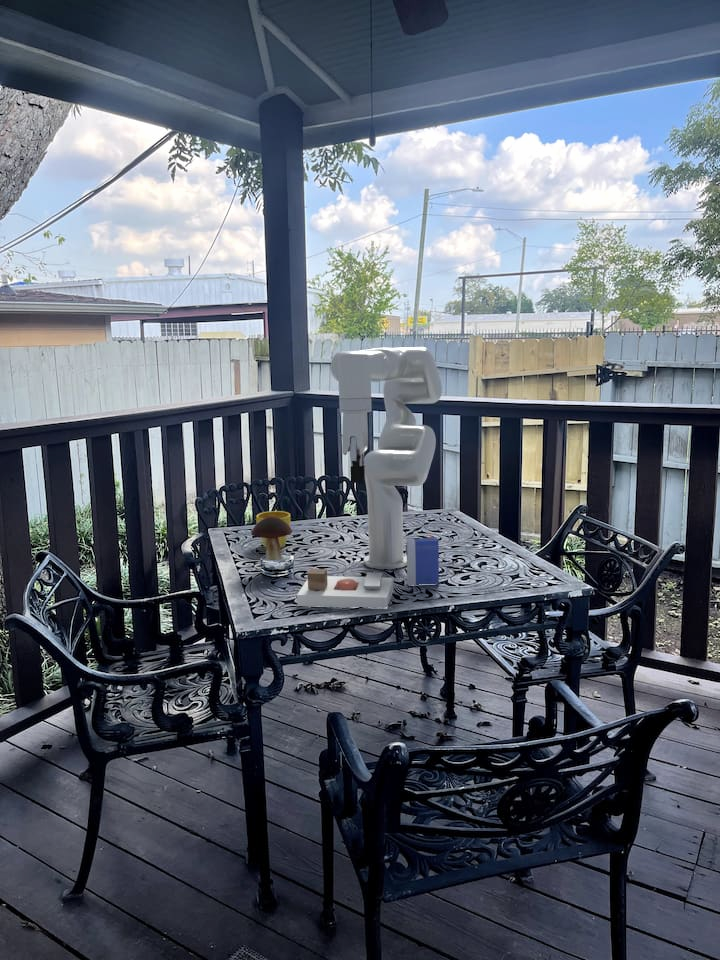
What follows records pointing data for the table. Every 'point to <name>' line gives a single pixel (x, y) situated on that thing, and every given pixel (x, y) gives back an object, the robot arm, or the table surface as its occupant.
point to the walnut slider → (317, 579)
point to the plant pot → (279, 514)
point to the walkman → (422, 561)
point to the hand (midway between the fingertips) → (357, 481)
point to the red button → (346, 584)
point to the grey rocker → (373, 580)
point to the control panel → (346, 594)
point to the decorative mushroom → (272, 535)
